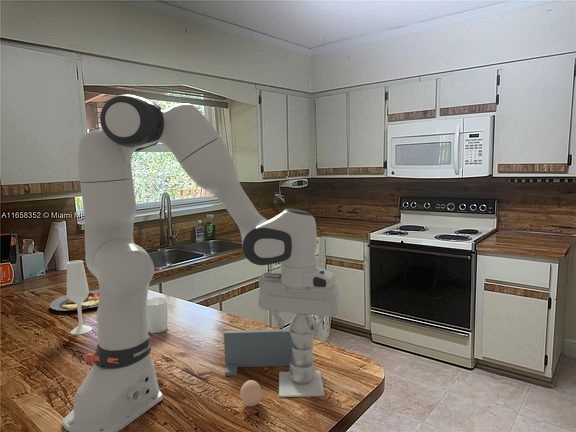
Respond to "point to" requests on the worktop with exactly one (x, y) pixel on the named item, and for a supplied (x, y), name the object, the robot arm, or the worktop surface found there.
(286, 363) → the slate screen
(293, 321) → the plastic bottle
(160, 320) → the white cup
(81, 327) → the champagne flute
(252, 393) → the egg
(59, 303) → the food plate
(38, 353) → the worktop surface
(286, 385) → the grey mat
